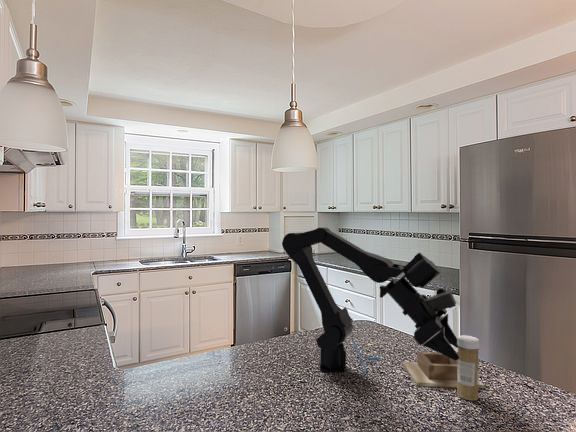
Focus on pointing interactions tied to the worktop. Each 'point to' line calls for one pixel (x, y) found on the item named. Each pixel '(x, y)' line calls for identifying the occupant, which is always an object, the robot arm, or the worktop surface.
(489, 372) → the worktop surface
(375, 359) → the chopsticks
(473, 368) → the sprinkles bottle
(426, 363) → the bottle stand
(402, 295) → the robot arm
